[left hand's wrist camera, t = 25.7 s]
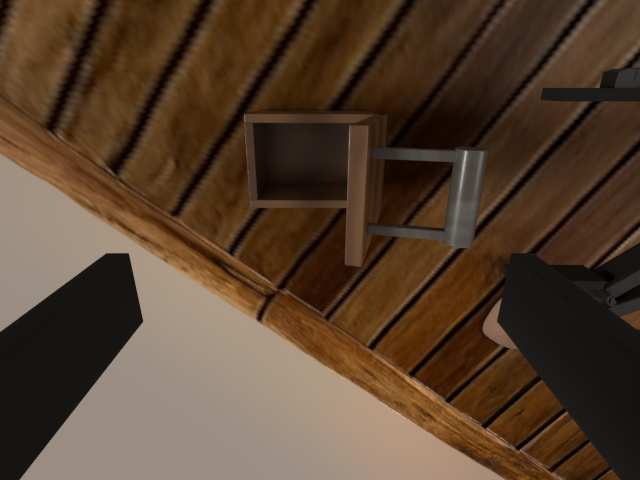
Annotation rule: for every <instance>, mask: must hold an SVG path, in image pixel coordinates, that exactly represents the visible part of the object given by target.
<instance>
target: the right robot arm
mask: <svg viewBox="0 0 640 480" xmlns="http://www.w3.org/2000/svg"><path fill="white" fill-rule="evenodd" d="M541 100H552V101H640V68H623V69H611V70H609V71H606V72H604V73H603V77H602V81H601V84H600V88H543V91H542V96H541ZM508 266H509V265H504V268H503V274H504V275H505V276H507V271H508ZM550 266H551V267H553V268H554V269H555V270H557V271H558V272H559V273H561V274H562V275H563V276H565V277H566V278H567V279H569V280H570V281H571V282H573V283H574V284H576V285H577V286H578V287H580V288H581V289H582V290H584V291H585V292H586V293H588V294H589V295H590V296H592V297H593V298H594V299H596V300H597V301H598V302H600V303H601V304H603V305H604V306H605V307H607V308H608V309H609V310H611V311H612V312H613V313H615V314H616V315H617V316H619V317H621V316H624V315H626V314H629V313H632V312H635V311H638V310H640V243H638V244H637V245H635V246H633V247H632V248H630V249H628V250H627V251H625V252H623V253H621V254H620V255H618V256H616V257H615V258H613V259H611V260H610V261H608V262H606V263H605V264H603V265H601V266H599V267H598V268H596V269H594V270H593V271H591V270H589V269H588V268H586V267H585V266H583V265H550ZM606 282H607V284H606Z"/></svg>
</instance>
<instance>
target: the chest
mask: <svg viewBox="0 0 640 480" xmlns="http://www.w3.org/2000/svg"><path fill="white" fill-rule="evenodd" d="M376 114H378V113H374V112H371V111H368V110H257V111H253V112H249V113H245V114H244V122H245V123H244V126H245V140H246V154H247V169H248V183H249V197H250V207H251V208H347V180H348V149H349V126H350V125H352V124H354V123H356V122H359V121H361V120H364V119H366V118H369V117H371V116H373V115H376Z"/></svg>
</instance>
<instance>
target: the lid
mask: <svg viewBox="0 0 640 480" xmlns="http://www.w3.org/2000/svg"><path fill="white" fill-rule="evenodd" d="M387 120H388V115H381V114H376V115H373V116H371V117H369V118H366V119H364V120H361V121H359V122H356V123H354V124H352V125H350V126H349V149H348V180H347V212H346V243H345V265H350V266H359V267H361V266H362V263H363V260H364V258H365V255H366V252H367V249H368V246H369V243H370V241H371V238H372V235H373V234H375V235H386V236H397V237H408V238H419V239H430V240H440V241H443V242H444V243H445V244H447V245H449V246H452V247H457V248H467V247H471V246H472V245H473V240H474V235H475V229H476V223H477V217H478V211H479V205H480V200H481V194H482V188H483V182H484V176H485V170H486V165H487V159H488V153H489V149H486V148H481V147H457V148H455V150H448V149H421V148H393V147H386V135H387ZM385 159H393V160H415V161H438V162H453V169H452V176H451V183H450V190H449V198H448V205H447V212H446V219H445V227H444V229H442V228H431V227H419V226H407V225H395V224H384V223H377V221H378V218H379V215H380V212H381V208H382V193H383V179H384V164H385Z"/></svg>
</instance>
